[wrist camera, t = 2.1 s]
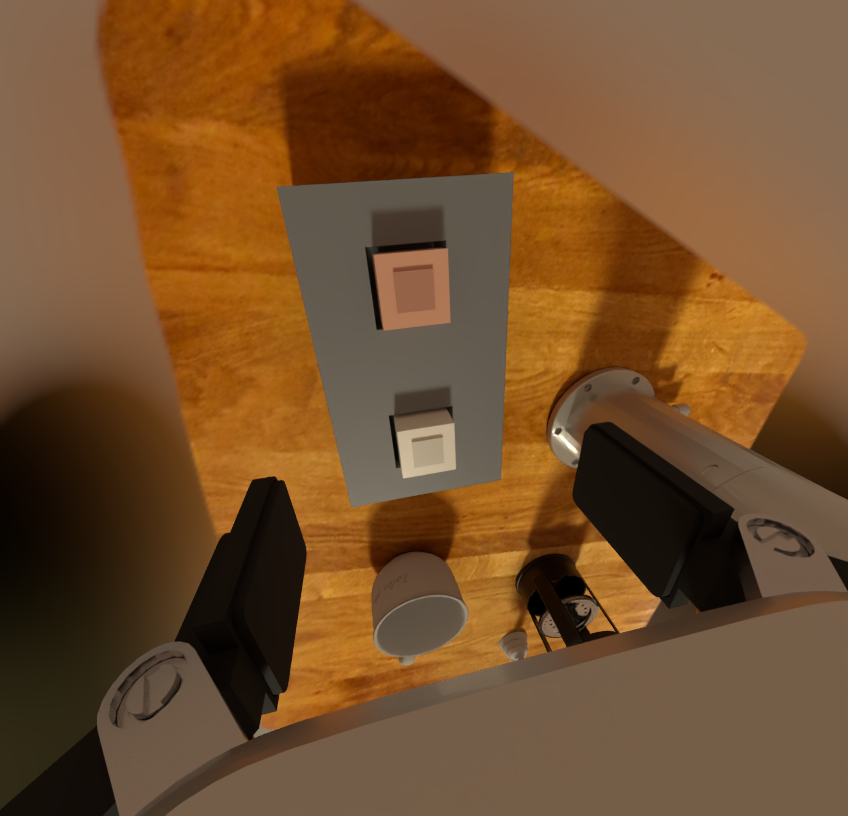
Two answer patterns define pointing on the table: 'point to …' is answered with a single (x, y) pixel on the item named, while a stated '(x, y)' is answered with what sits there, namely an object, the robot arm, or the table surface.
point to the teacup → (416, 606)
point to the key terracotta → (412, 287)
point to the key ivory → (425, 442)
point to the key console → (408, 347)
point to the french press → (559, 601)
